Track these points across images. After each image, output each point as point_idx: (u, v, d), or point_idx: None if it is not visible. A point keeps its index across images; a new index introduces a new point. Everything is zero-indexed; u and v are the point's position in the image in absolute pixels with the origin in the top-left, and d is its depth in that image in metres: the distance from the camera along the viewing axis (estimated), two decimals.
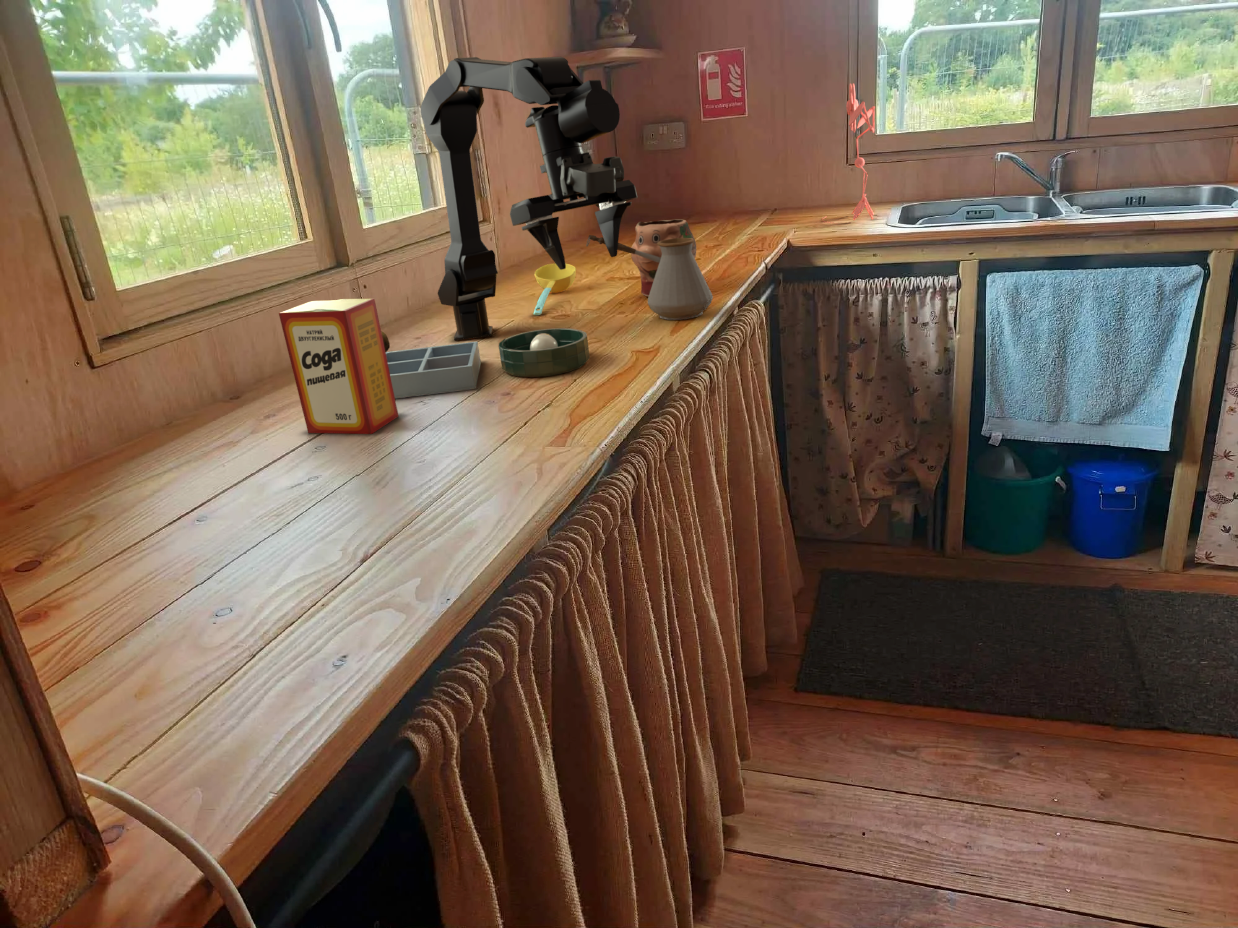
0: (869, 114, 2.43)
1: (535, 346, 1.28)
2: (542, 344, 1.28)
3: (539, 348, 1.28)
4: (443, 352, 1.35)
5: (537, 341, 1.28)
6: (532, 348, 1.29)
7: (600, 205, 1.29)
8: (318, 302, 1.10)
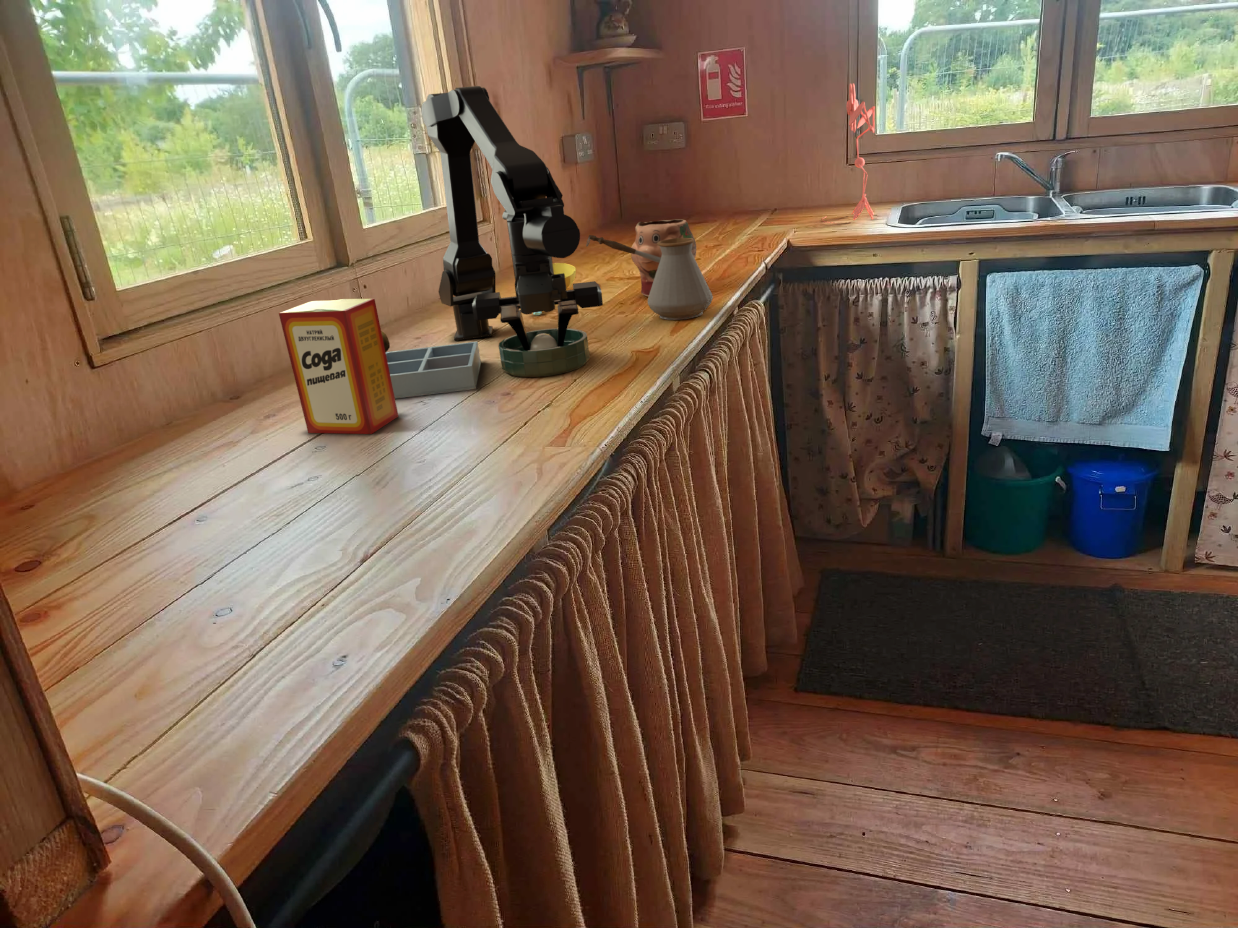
0: (869, 114, 2.43)
1: (535, 346, 1.28)
2: (542, 344, 1.28)
3: (539, 348, 1.28)
4: (443, 352, 1.35)
5: (537, 341, 1.28)
6: (532, 348, 1.29)
7: None
8: (318, 302, 1.10)
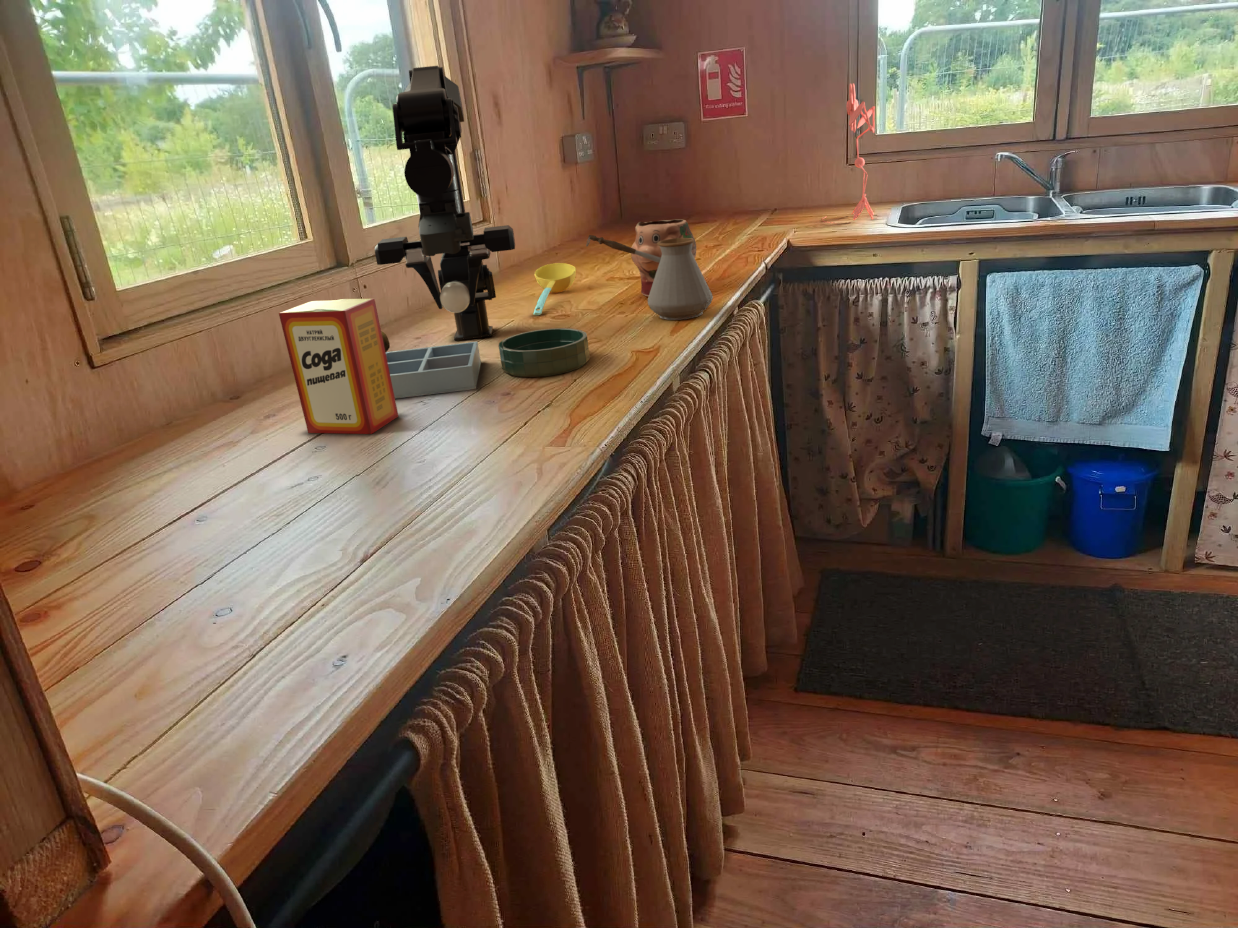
0: (869, 114, 2.43)
1: (444, 294, 1.21)
2: (451, 291, 1.20)
3: (448, 296, 1.20)
4: (443, 352, 1.35)
5: (446, 288, 1.21)
6: (441, 296, 1.21)
7: None
8: (318, 302, 1.10)
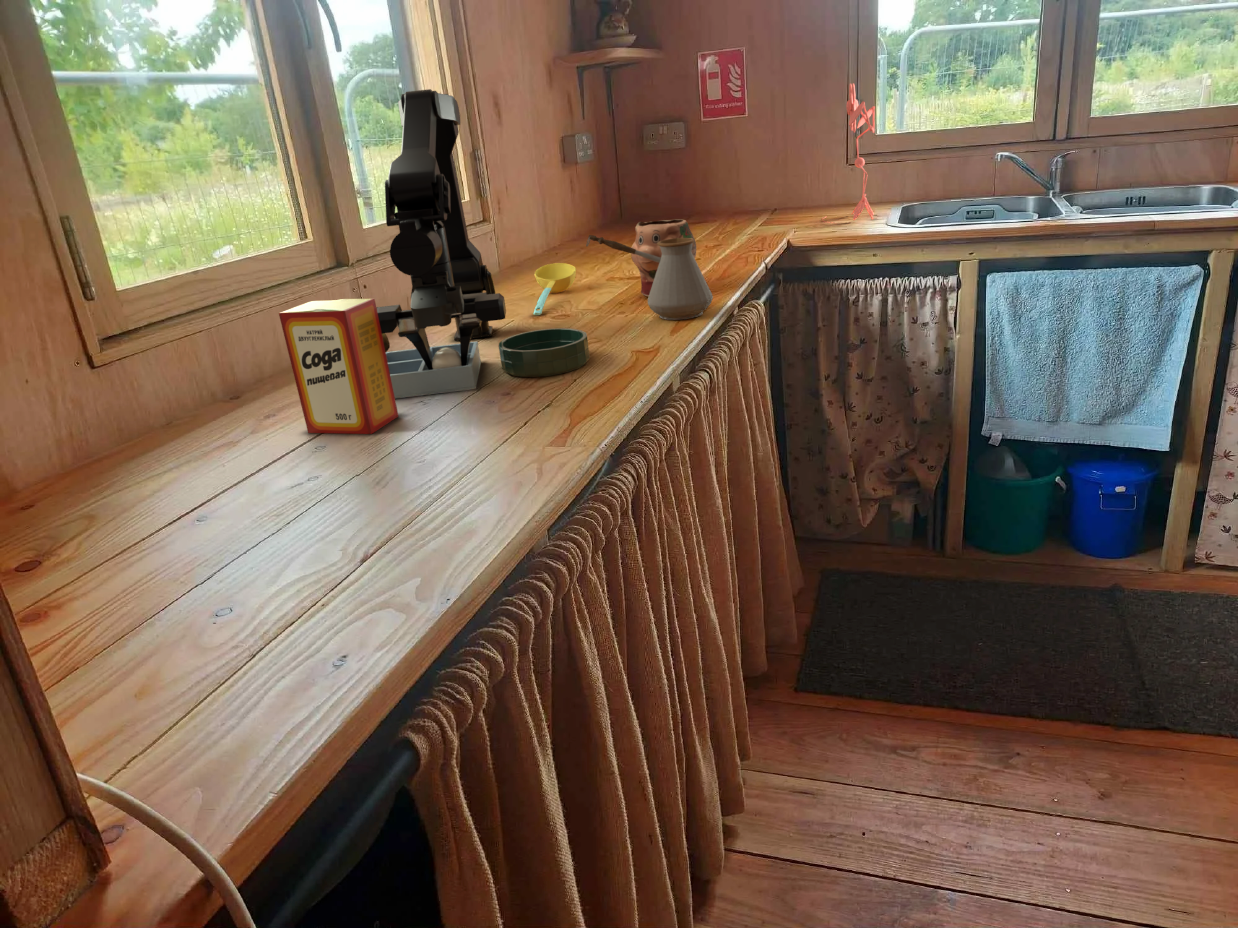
0: (869, 114, 2.43)
1: (436, 361, 1.23)
2: (443, 359, 1.23)
3: (440, 363, 1.23)
4: None
5: (438, 355, 1.23)
6: (433, 363, 1.24)
7: None
8: (318, 302, 1.10)
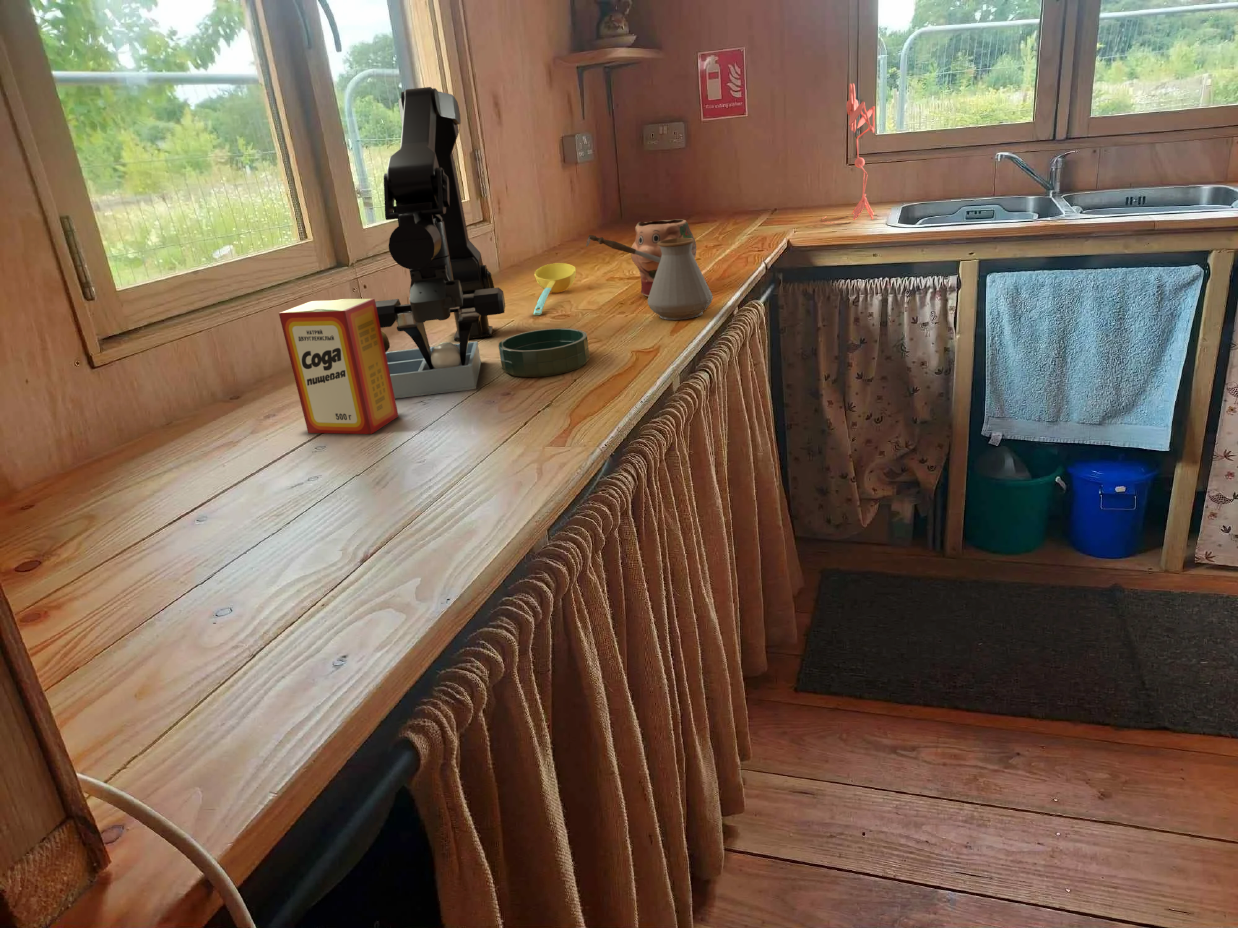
0: (869, 114, 2.43)
1: (435, 355, 1.23)
2: (442, 353, 1.23)
3: (439, 357, 1.23)
4: None
5: (437, 350, 1.23)
6: (432, 357, 1.23)
7: None
8: (318, 302, 1.10)
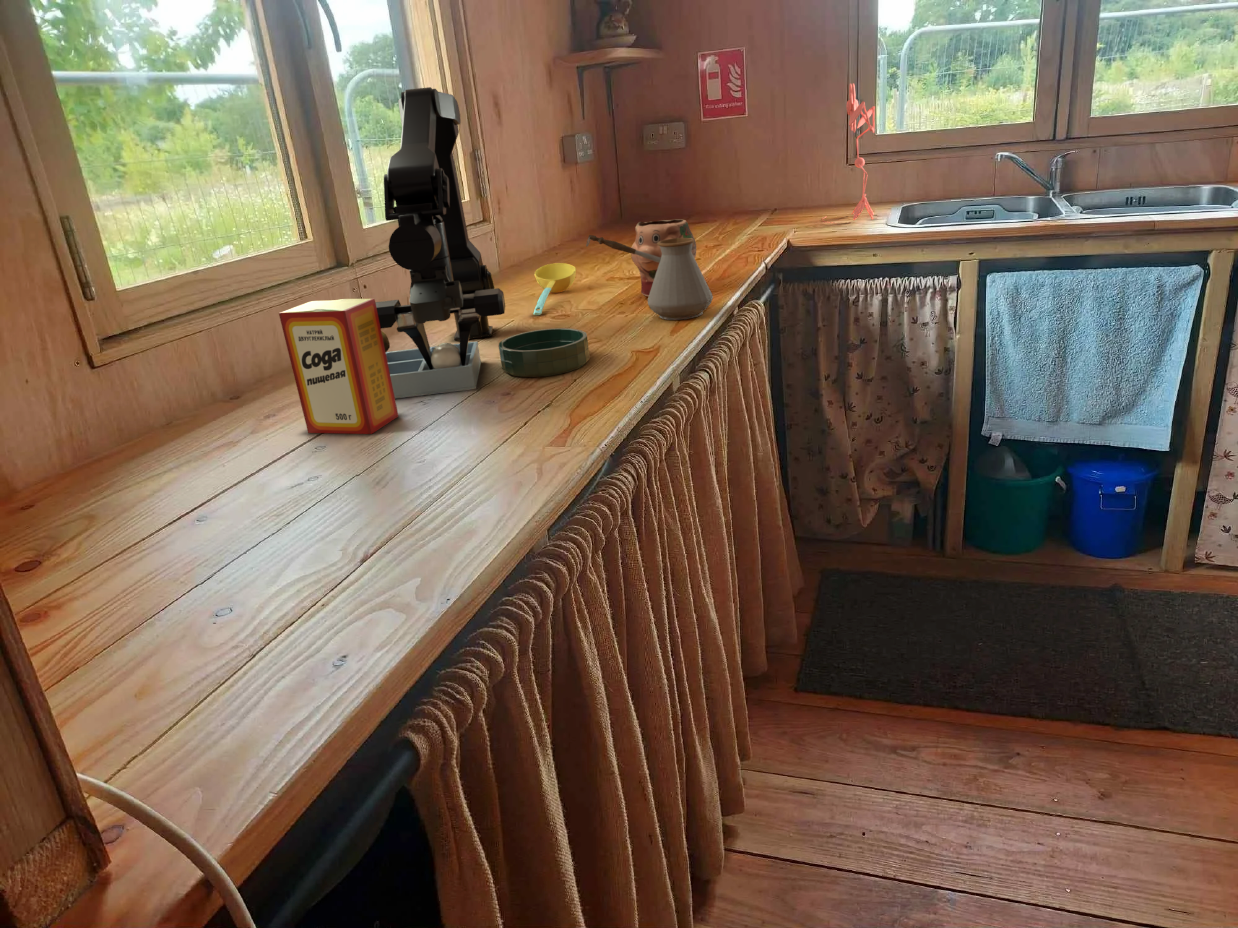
0: (869, 114, 2.43)
1: (435, 356, 1.23)
2: (442, 354, 1.23)
3: (439, 358, 1.23)
4: None
5: (437, 350, 1.23)
6: (432, 358, 1.23)
7: None
8: (318, 302, 1.10)
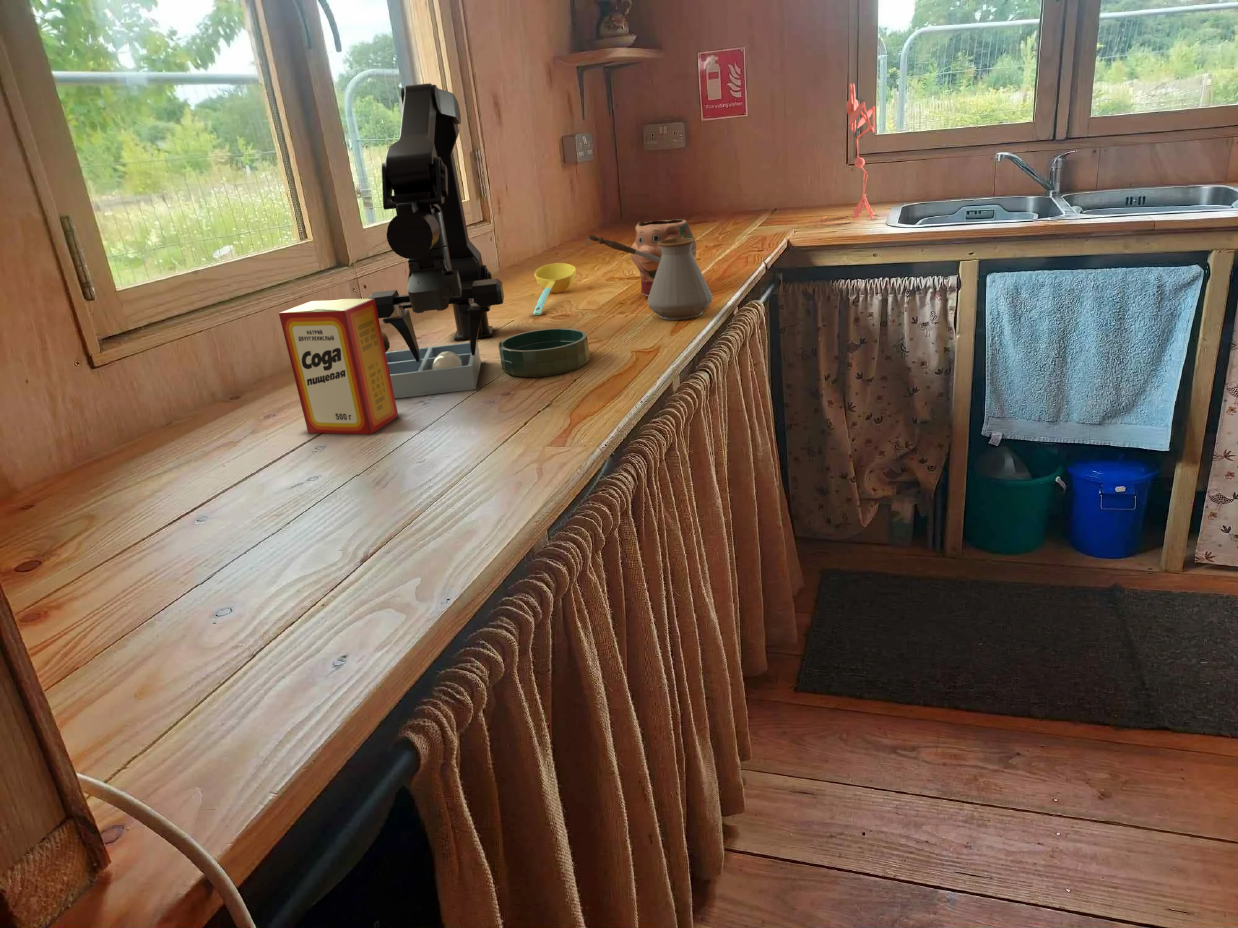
0: (869, 114, 2.43)
1: (436, 365, 1.23)
2: (443, 363, 1.23)
3: (440, 367, 1.23)
4: None
5: (439, 359, 1.23)
6: (434, 367, 1.24)
7: None
8: (318, 302, 1.10)
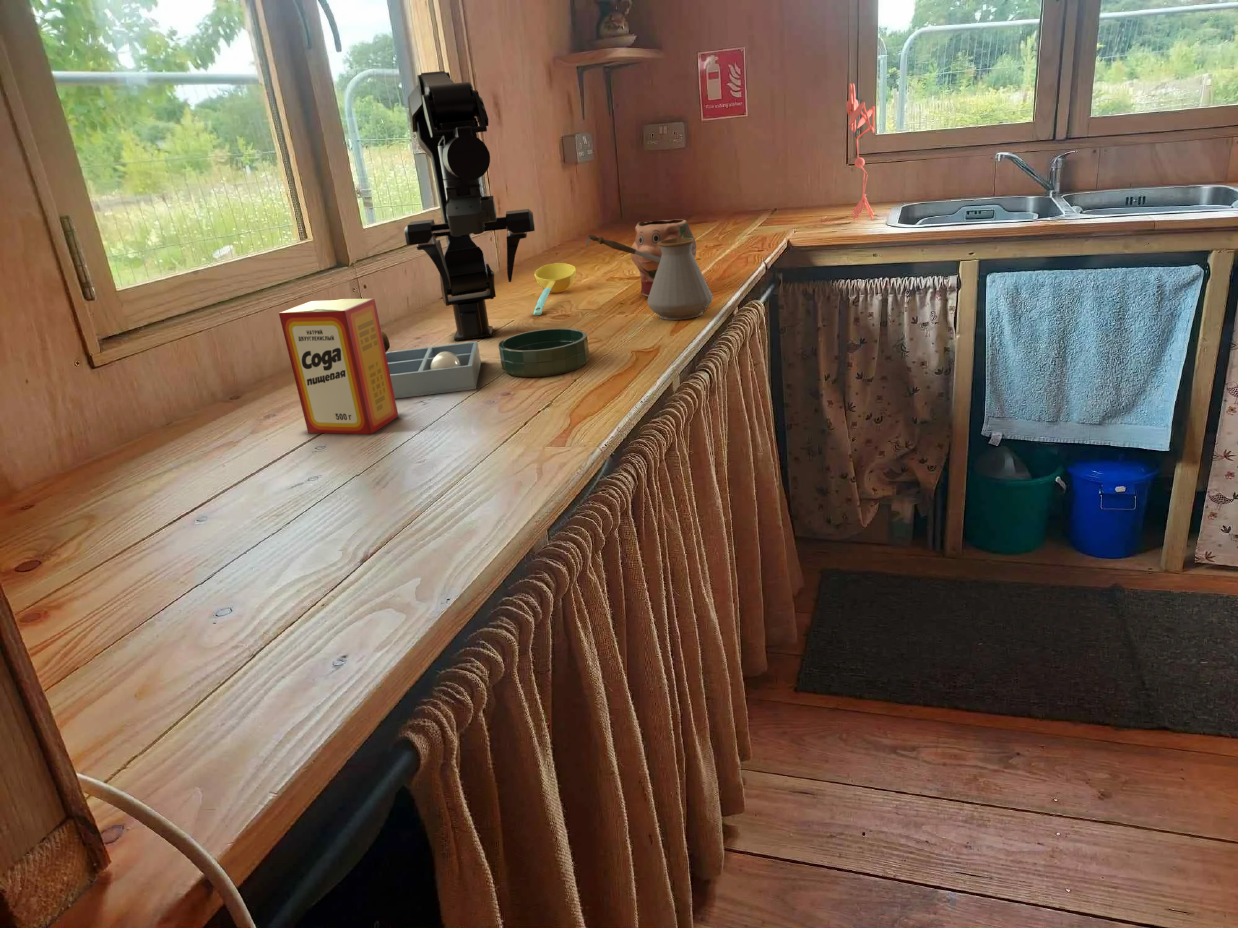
0: (869, 114, 2.43)
1: (434, 366, 1.23)
2: (441, 363, 1.23)
3: (438, 368, 1.23)
4: None
5: (436, 360, 1.23)
6: (432, 368, 1.24)
7: None
8: (318, 302, 1.10)
